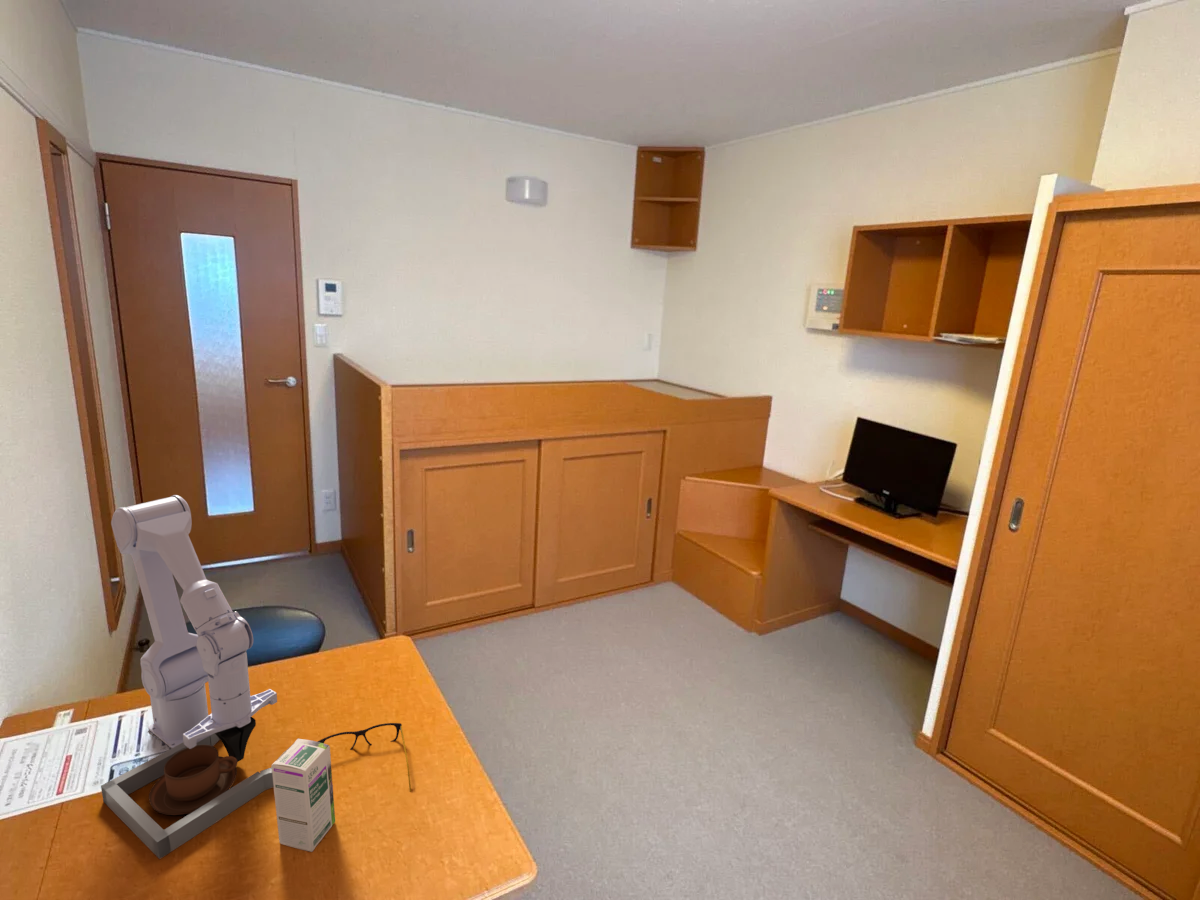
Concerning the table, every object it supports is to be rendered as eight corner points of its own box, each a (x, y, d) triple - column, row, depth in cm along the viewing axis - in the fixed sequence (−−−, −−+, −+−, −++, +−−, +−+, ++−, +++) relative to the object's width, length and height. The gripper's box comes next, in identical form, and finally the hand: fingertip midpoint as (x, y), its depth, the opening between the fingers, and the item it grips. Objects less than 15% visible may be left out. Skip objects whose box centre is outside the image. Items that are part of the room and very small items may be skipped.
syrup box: (312, 853, 91) (307, 771, 88) (277, 844, 92) (270, 763, 89) (336, 822, 97) (331, 743, 93) (302, 814, 98) (297, 736, 94)
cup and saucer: (224, 754, 109) (221, 724, 108) (248, 793, 101) (245, 762, 100) (141, 791, 100) (137, 759, 99) (161, 836, 93) (156, 802, 91)
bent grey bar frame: (99, 797, 98) (96, 781, 98) (224, 729, 115) (222, 716, 114) (164, 864, 88) (162, 847, 87) (292, 779, 104) (290, 765, 104)
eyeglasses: (401, 737, 116) (400, 719, 115) (411, 793, 104) (411, 774, 103) (318, 755, 111) (317, 736, 110) (318, 818, 98) (317, 797, 97)
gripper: (196, 722, 95) (204, 796, 98) (285, 677, 107) (290, 743, 110) (172, 705, 98) (181, 776, 102) (261, 663, 111) (267, 727, 114)
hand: (236, 758), depth 106 cm, fingers closed
